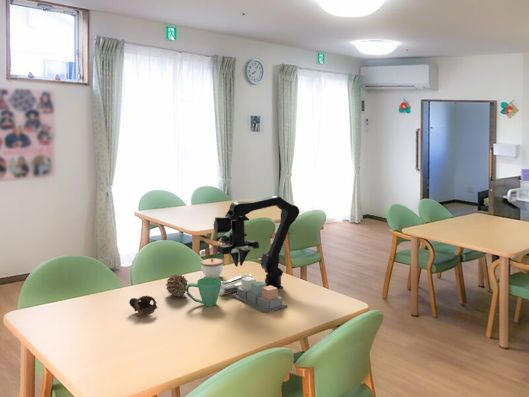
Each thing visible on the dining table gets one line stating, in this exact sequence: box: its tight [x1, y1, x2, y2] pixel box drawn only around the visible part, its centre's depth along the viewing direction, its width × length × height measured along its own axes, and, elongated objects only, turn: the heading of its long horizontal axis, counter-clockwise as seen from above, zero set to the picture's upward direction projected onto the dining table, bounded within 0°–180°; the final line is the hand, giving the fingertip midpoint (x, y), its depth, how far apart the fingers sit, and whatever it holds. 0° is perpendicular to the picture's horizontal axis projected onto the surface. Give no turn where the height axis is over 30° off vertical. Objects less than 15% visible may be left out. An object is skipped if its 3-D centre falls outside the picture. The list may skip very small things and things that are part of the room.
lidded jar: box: [200, 257, 224, 280], centre depth 248 cm, size 11×11×9 cm
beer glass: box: [219, 273, 254, 296], centre depth 226 cm, size 7×7×15 cm
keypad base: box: [232, 286, 288, 314], centre depth 214 cm, size 11×24×4 cm, turn 36°
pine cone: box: [165, 273, 189, 297], centre depth 225 cm, size 22×10×10 cm, turn 23°
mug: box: [185, 277, 222, 307], centre depth 210 cm, size 15×10×10 cm
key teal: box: [251, 280, 266, 295], centre depth 213 cm, size 4×4×5 cm
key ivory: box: [241, 276, 257, 291], centre depth 219 cm, size 4×4×5 cm
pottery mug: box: [128, 295, 158, 319], centre depth 201 cm, size 12×10×8 cm
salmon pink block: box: [262, 285, 278, 300], centre depth 207 cm, size 4×4×5 cm
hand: (238, 265), depth 224 cm, fingers open, 2 cm apart
